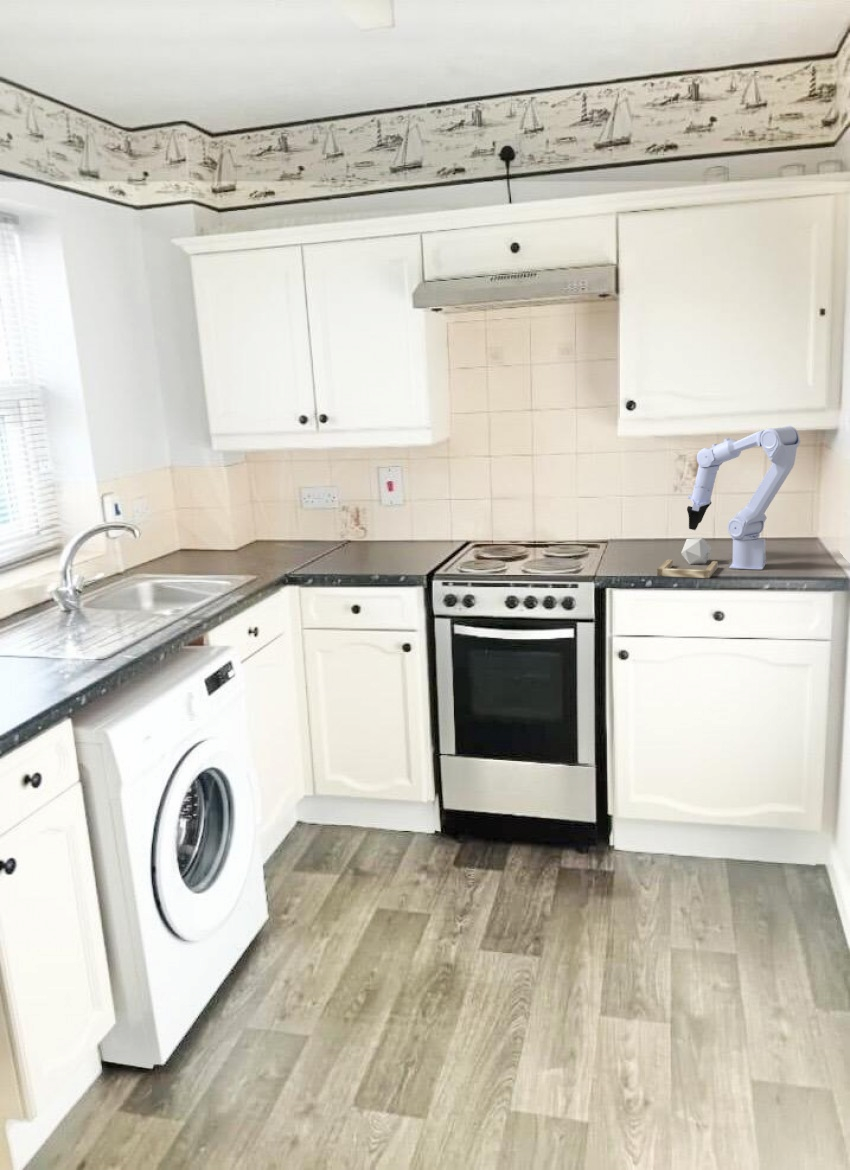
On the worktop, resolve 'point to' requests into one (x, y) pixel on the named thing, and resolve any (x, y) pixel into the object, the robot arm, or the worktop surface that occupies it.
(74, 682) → the worktop surface
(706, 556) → the die
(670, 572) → the corral
